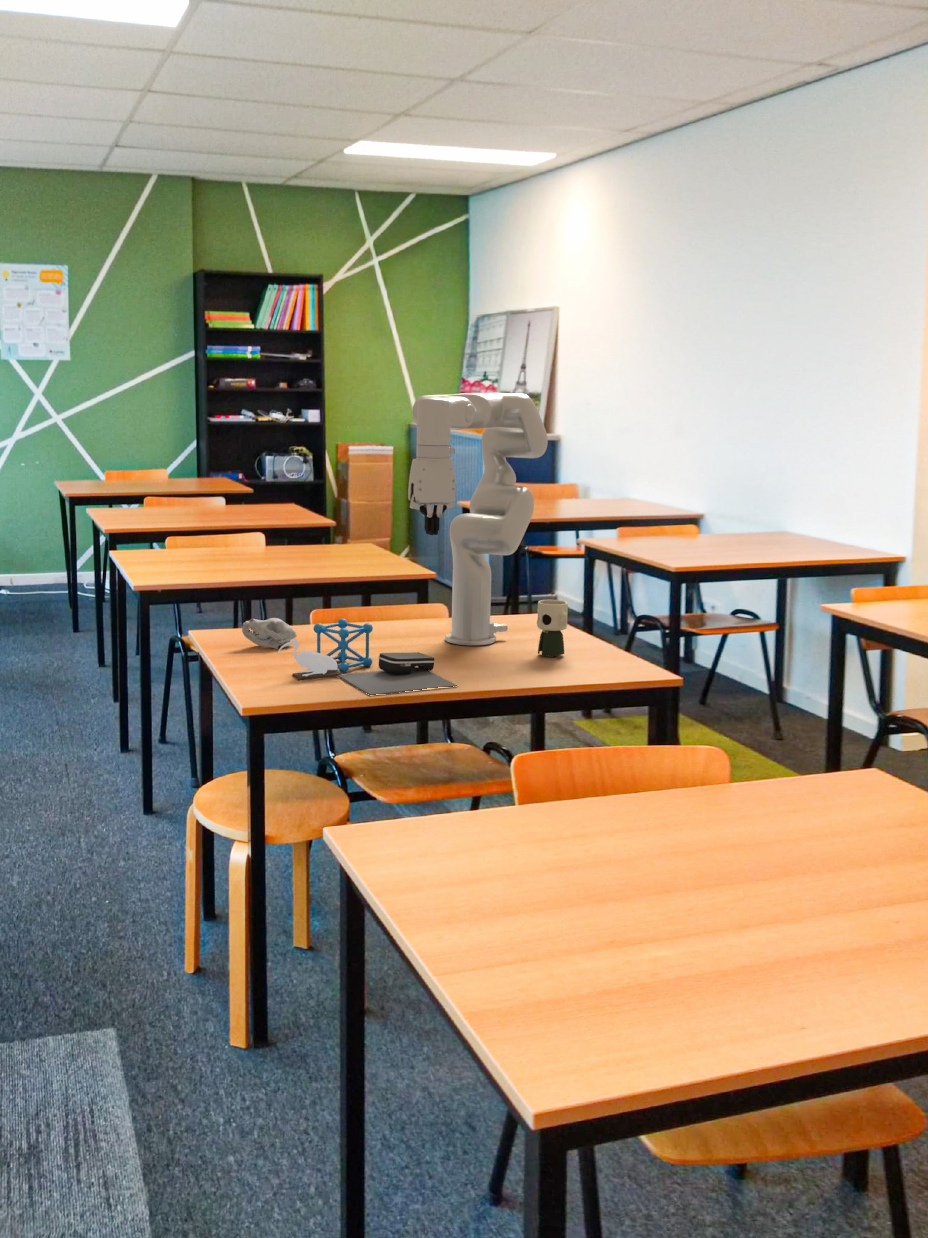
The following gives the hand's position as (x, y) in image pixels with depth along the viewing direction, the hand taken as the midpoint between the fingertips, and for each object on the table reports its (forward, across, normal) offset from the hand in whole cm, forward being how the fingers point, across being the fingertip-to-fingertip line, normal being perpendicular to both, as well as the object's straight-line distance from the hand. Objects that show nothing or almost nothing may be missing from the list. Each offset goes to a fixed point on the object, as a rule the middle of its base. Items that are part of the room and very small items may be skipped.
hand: (431, 534), depth 285 cm
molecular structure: (+29, +21, 0) cm, 36 cm away
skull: (+29, +30, -26) cm, 49 cm away
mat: (+29, +16, +17) cm, 37 cm away
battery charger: (+28, +5, +10) cm, 30 cm away
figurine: (+30, +32, +6) cm, 44 cm away
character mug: (+29, -28, +8) cm, 41 cm away
